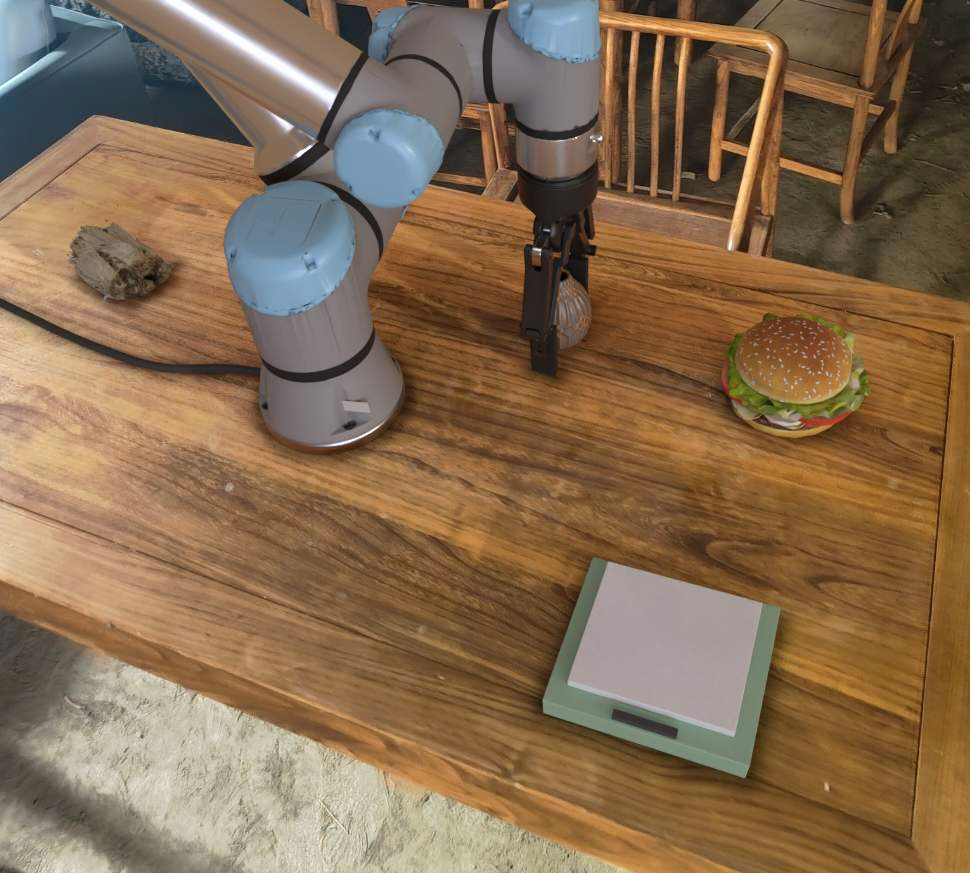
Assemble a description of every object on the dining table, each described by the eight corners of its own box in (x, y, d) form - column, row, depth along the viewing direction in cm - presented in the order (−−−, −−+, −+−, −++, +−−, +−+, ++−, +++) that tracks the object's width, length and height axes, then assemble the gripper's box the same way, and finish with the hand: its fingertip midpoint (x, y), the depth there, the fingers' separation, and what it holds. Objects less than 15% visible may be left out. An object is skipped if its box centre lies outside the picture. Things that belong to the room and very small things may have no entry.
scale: (542, 713, 74) (541, 695, 72) (592, 571, 82) (593, 550, 80) (745, 778, 70) (751, 761, 67) (776, 621, 78) (783, 601, 75)
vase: (587, 361, 100) (587, 299, 93) (523, 356, 101) (520, 294, 94) (595, 318, 104) (596, 256, 97) (534, 313, 105) (531, 251, 99)
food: (854, 463, 88) (874, 407, 82) (705, 431, 92) (715, 375, 86) (868, 365, 96) (888, 307, 90) (731, 339, 100) (742, 282, 94)
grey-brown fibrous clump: (190, 278, 114) (176, 243, 110) (123, 320, 110) (106, 284, 106) (126, 234, 121) (110, 199, 117) (61, 272, 117) (43, 237, 113)
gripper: (558, 241, 78) (561, 417, 94) (629, 101, 91) (621, 276, 108) (474, 227, 80) (492, 401, 96) (556, 92, 93) (560, 265, 110)
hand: (560, 335), depth 102 cm, fingers open, 10 cm apart
